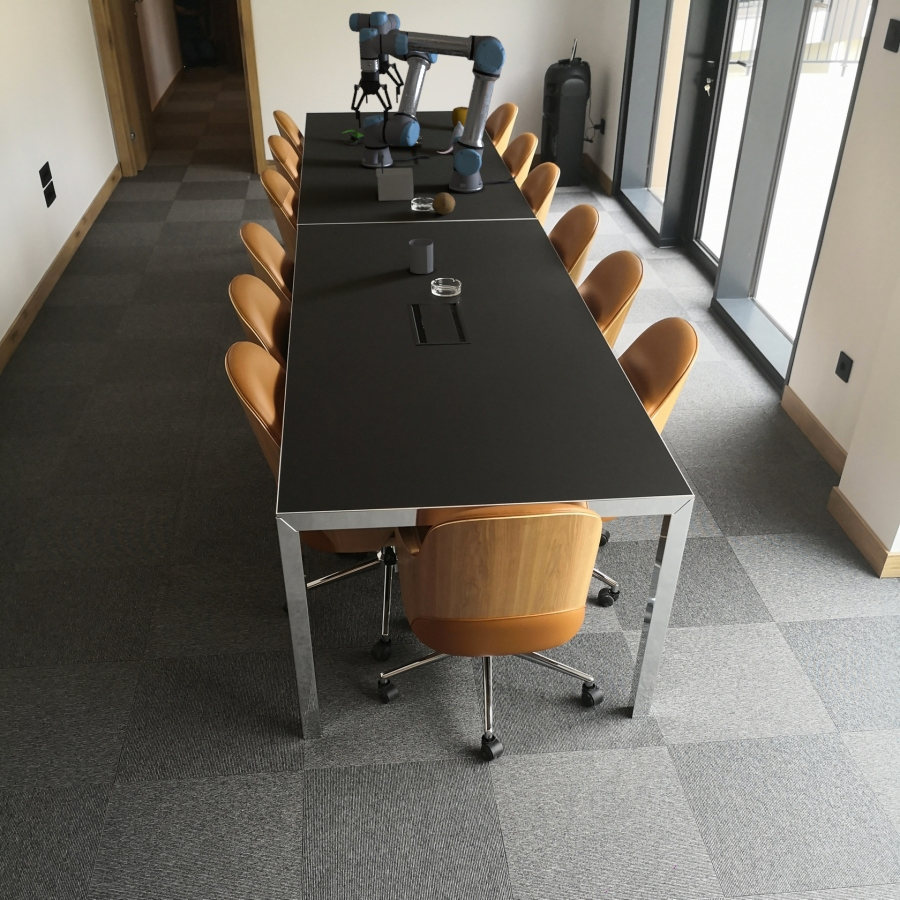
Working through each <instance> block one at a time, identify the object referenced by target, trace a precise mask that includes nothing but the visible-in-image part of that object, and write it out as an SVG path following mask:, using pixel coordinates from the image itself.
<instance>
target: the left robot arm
mask: <svg viewBox="0 0 900 900" xmlns="http://www.w3.org/2000/svg"><path fill="white" fill-rule="evenodd" d="M348 26H349V29H350V31H351V32H354V33H359V31H360V30H361V29H363V28H375V29H377V31H378V34H387V33H388V32H389V31H390V30H392V29H398V30H400V28H401V20H400V18H399V16H398V15H397V14H395V13H387V12H386V11H381V10H379V11H378V10H377V11H371V12H370V13H363V12H353V13H351V14H350V16H349V19H348ZM390 56H391V57H392V58H395V59H396V60H399V61H402V62H406V64H407V65H408V69H407V73H406V77H405V80H403V78H402V76H401V74H400V72H399V69H398V68H397V63H396V62H393V63H390ZM438 56H439V54H430V53H421V52H412V51H408V52H407V54H403V55H387V54H382V55H381V54H379V55H378V57H379V69H378V71H379V75H387V76H388V77H389V79H391V81H392V82H393V83H394V85H396V86H395V101H396V102H395V103H396V104H399V106H398V109H397V111H396V112H394V114H393V117H392V118H388V119H386V128H384V113H382V114H373V115H370V116H366V117H365V118H364V119H363V134H364V141H363V142H364V151H363V155H362V159H361V166H362V167H363V168H366V169H371V170H376V169H381V159H380V155H379V152H380V151H381V150H382V151H383V152H384V158H383V169H384V168H391V167H392V166H394V162H396V161H397V162H398V161H402V162H403V161H404V162H405V161H411V160H414V159H429V158H430V156H429V155H415V156H410V157H407V158H392V155H391V152H390V151H391V150H390V147H389V146H399V147H413V146H414V145H415V144H416V143H417V141H418V139H419V136H420V129H421V128H420V127H421V126H420V123H419V122H418V119H417V111H418V107H419V102H420V99H421V95H422V91H423V86H424V82H425V78H426V74H427V71H429V70H430V69H431V66H432V64H436V63H437V60H438ZM390 68H391V69H393V71H394V73H395V74H396V77H397V79H398V80H397V79H396V77H395V76H394V75H393V74H392V73H391V71H390ZM360 84H361V78H360V79H359V81H358V84H357V85H360ZM401 87H403V88H402V93H401ZM363 92H364V91H363V90H362V93H363ZM400 95H401V97H400V102H399V96H400ZM368 96H369V95H367V94H366V96H365V104H369V103H368V102H369V100H368V99H369V98H368Z"/></svg>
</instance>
